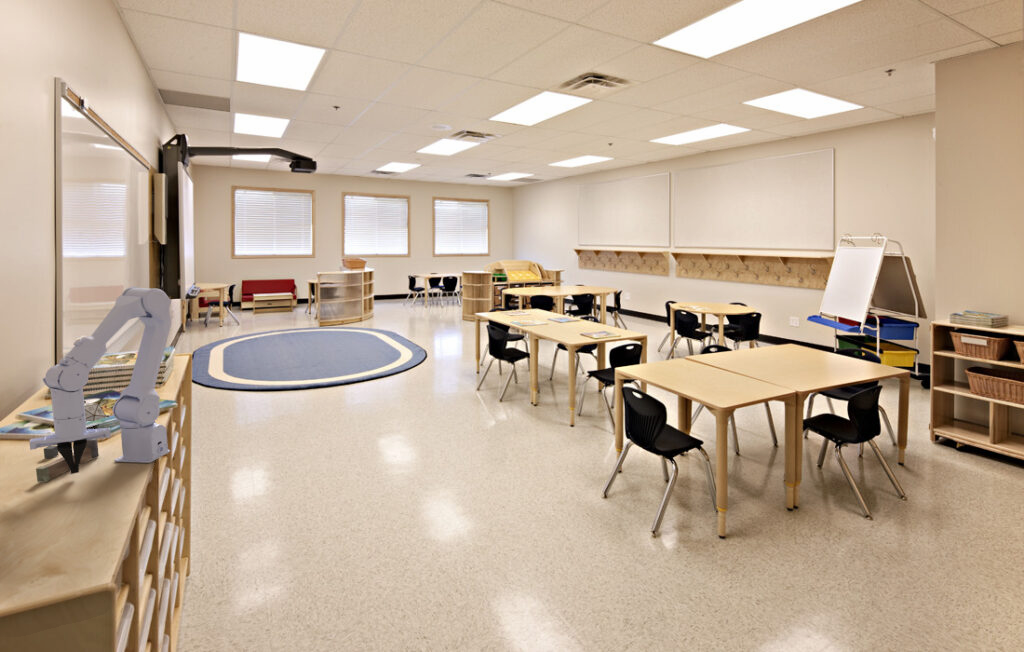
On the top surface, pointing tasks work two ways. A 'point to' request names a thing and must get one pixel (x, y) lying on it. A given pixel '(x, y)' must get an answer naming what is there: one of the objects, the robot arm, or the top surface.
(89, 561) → the top surface
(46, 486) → the top surface
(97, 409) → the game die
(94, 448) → the gate
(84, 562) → the top surface
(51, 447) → the block
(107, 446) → the top surface
